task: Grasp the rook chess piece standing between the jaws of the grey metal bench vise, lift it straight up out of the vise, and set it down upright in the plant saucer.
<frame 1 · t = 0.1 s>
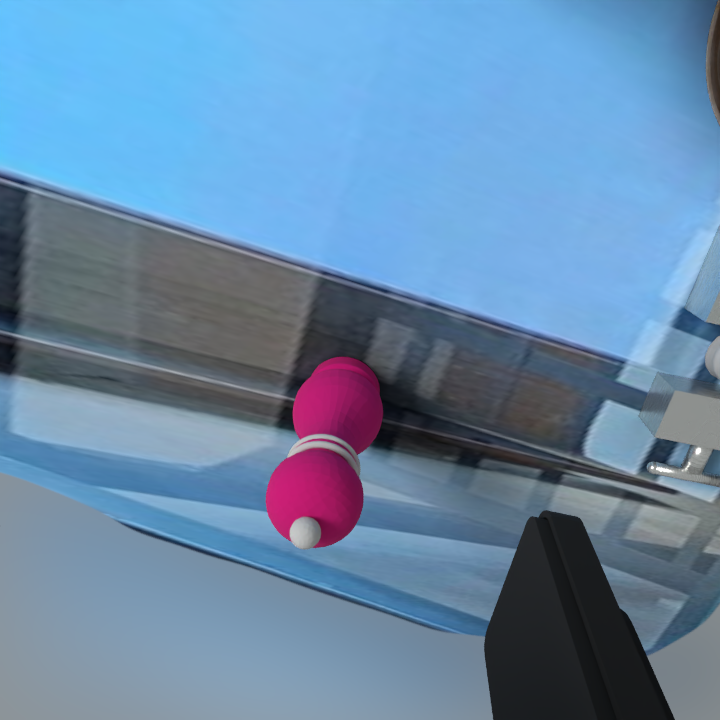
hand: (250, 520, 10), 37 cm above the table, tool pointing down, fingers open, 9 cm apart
pepper mill: (344, 388, 50), on the table
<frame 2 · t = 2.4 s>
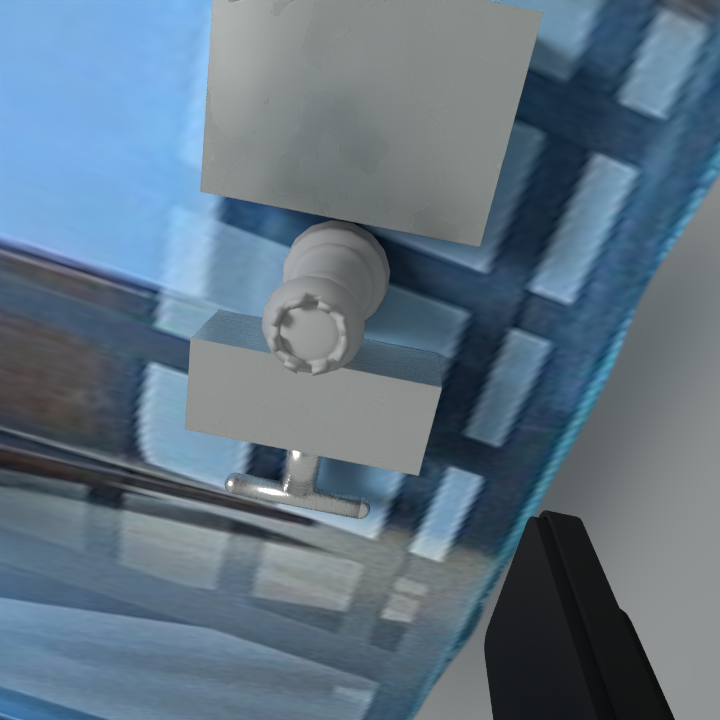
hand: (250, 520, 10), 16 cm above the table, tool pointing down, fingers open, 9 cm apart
rook chess piece: (338, 270, 24), on the table
bench vise: (338, 271, 24), on the table
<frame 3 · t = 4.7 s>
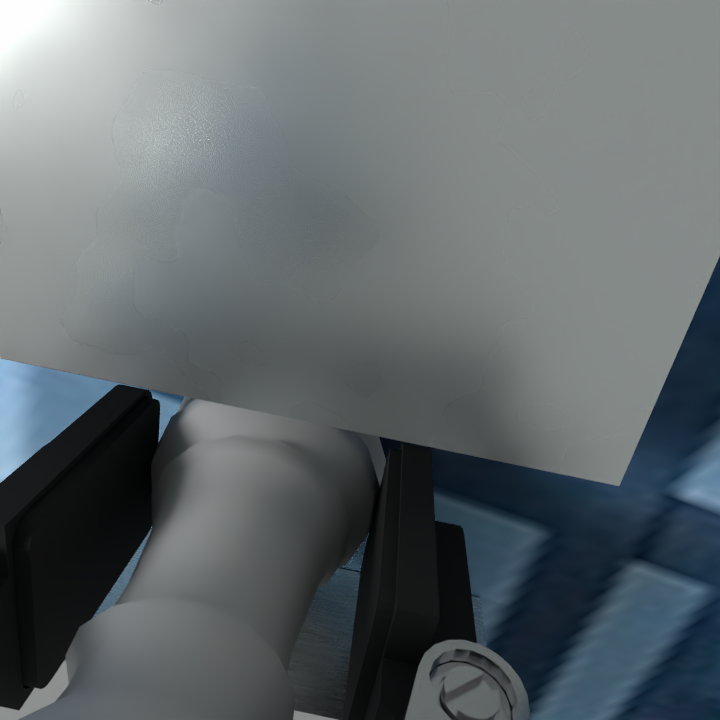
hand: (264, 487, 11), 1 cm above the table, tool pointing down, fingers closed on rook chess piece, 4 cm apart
rook chess piece: (283, 444, 12), on the table, touching gripper
bench vise: (280, 449, 12), on the table
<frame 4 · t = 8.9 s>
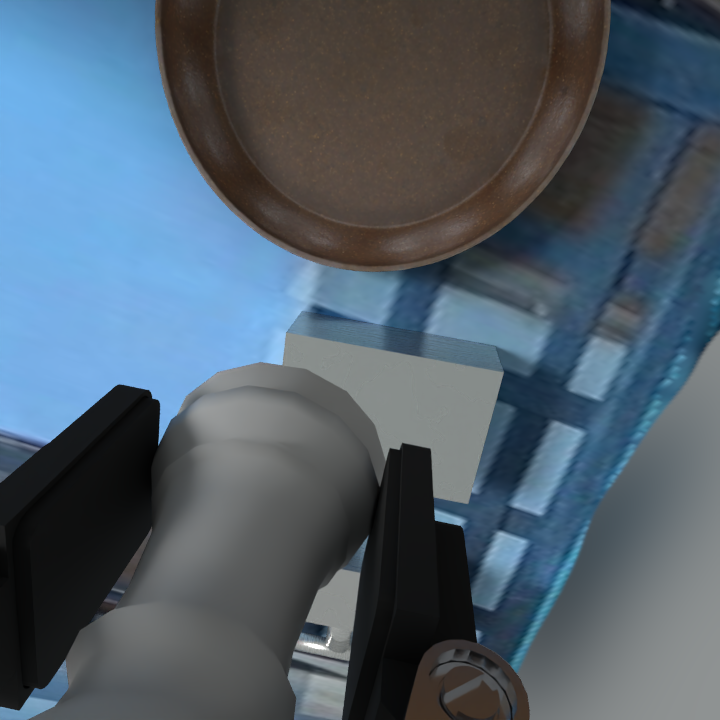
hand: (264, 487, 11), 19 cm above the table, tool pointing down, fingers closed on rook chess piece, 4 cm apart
plant saucer: (379, 58, 25), on the table
rook chess piece: (283, 446, 12), point 17 cm above the table, touching gripper
bench vise: (366, 490, 32), on the table
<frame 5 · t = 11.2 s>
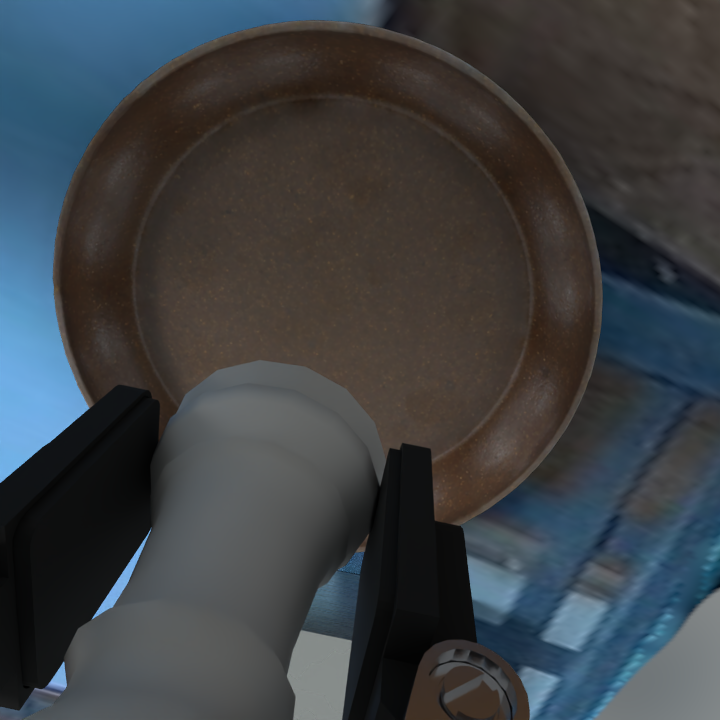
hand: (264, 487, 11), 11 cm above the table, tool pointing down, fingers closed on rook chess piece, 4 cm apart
plant saucer: (331, 305, 21), on the table
rook chess piece: (282, 445, 12), point 9 cm above the table, touching gripper
bench vise: (318, 719, 29), on the table
when the fingers open (4 cm above the table, at t = 13.2 s): rook chess piece stays where it is, resting on plant saucer.
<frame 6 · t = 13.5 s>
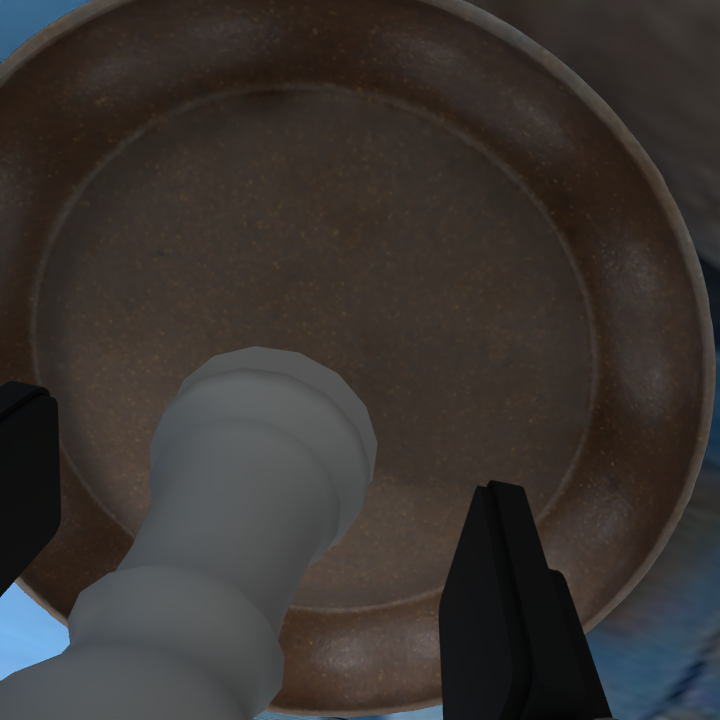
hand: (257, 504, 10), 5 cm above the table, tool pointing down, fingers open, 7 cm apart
plant saucer: (310, 378, 15), on the table, touching rook chess piece
rook chess piece: (278, 429, 12), point 2 cm above the table, touching plant saucer
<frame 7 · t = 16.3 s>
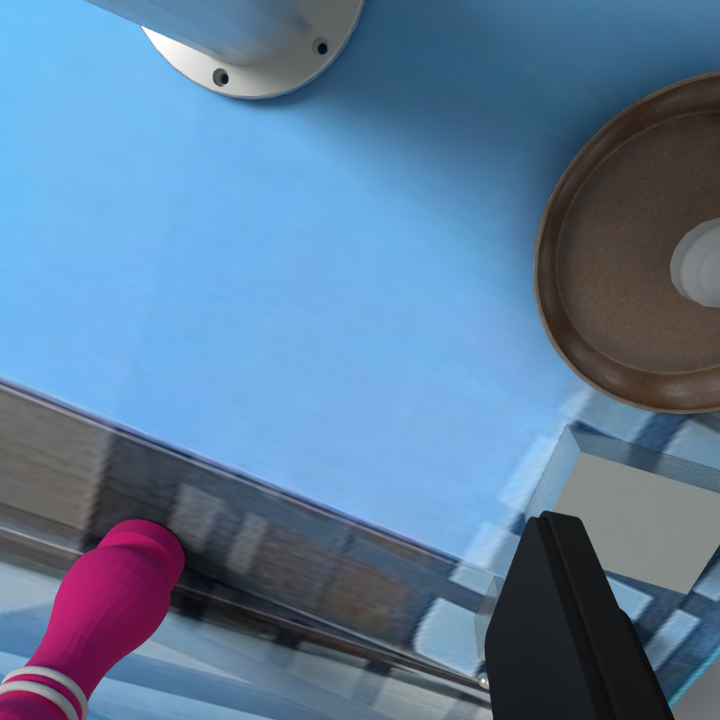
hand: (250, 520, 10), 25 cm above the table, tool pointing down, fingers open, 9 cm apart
plant saucer: (683, 248, 32), on the table, touching rook chess piece
rook chess piece: (711, 258, 29), point 2 cm above the table, touching plant saucer
bench vise: (577, 566, 39), on the table
pepper mill: (147, 550, 43), on the table
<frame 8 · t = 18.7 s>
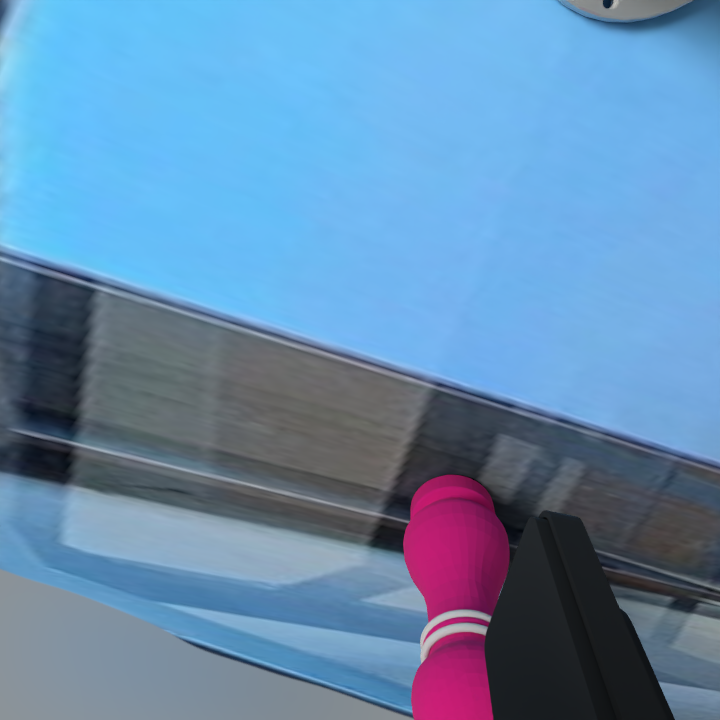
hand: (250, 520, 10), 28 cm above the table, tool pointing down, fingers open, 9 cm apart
pepper mill: (451, 506, 43), on the table
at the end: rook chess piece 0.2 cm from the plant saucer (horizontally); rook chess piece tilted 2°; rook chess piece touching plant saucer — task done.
